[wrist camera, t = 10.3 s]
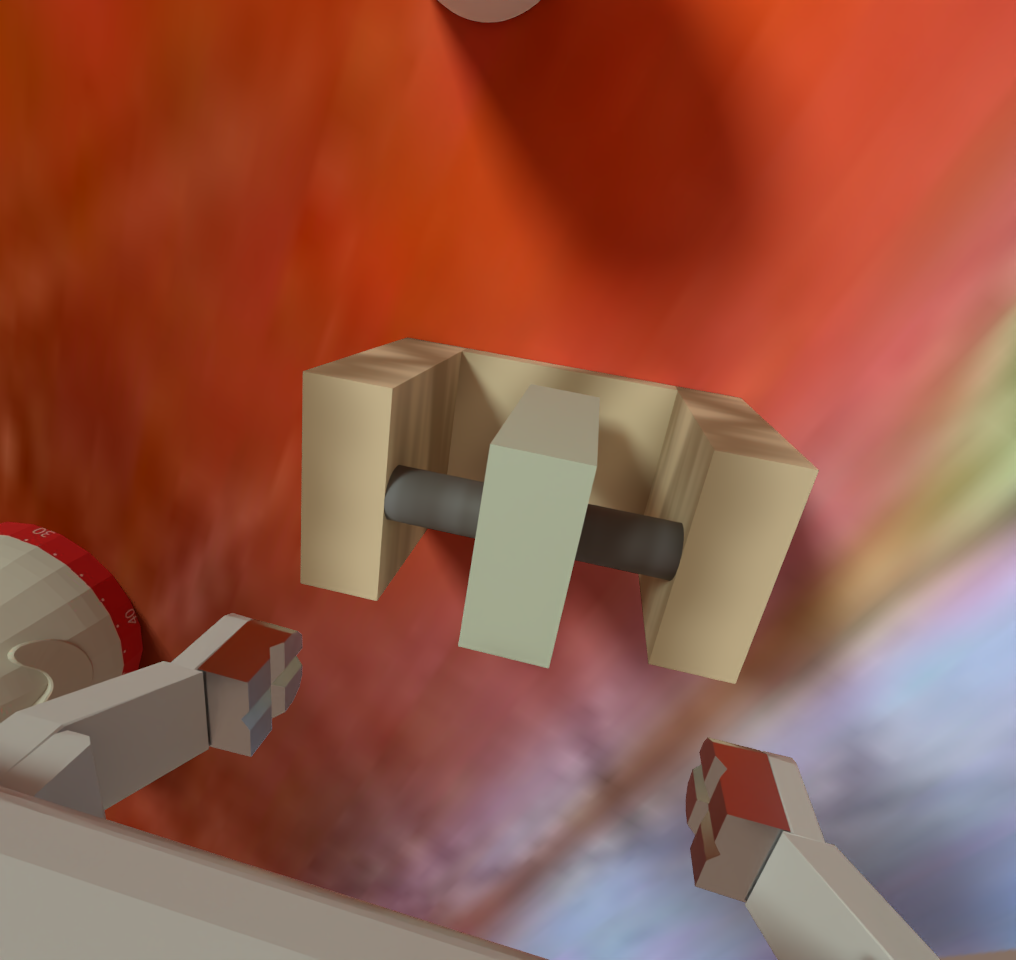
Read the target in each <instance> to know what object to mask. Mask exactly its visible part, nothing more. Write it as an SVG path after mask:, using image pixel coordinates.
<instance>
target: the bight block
mask: <svg viewBox="0 0 1016 960" xmlns="http://www.w3.org/2000/svg"><path fill="white" fill-rule="evenodd" d="M599 409H600V397H595V396H589V395H584V394H579V393H574V392H569V391H564V390H559V389H554V388H549V387H544V386H539V385H534V384H530V386H529V387H528V389H527V390H526V392H525V393H524V395H523V396H522V398H521V399H520V401H519V402H518V404H517V405H516V407H515V408H514V410H513V411H512V412H511V414H510V415H509V417H508V418H507V420H506V421H505V423H504V424H503V426H502V427H501V429H500V430H499V432H498V433H497V435H496V436H495V438H494V439H493V441H492V442H491V444H490V448H489V455H488V461H487V467H486V474H485V480H484V486H483V493H482V499H481V505H480V512H479V518H478V524H477V531H476V537H475V543H474V550H473V556H472V562H471V569H470V575H469V581H468V588H467V594H466V600H465V607H464V613H463V619H462V626H461V632H460V638H459V644H458V646H460V647H464V648H468V649H472V650H476V651H480V652H484V653H488V654H492V655H496V656H500V657H504V658H509V659H513V660H517V661H521V662H525V663H529V664H533V665H537V666H541V667H545V668H549V665H550V661H551V657H552V653H553V648H554V644H555V640H556V636H557V632H558V628H559V623H560V619H561V615H562V611H563V607H564V602H565V598H566V594H567V590H568V586H569V582H570V577H571V573H572V569H573V565H574V561H575V556H576V552H577V548H578V544H579V540H580V536H581V531H582V527H583V523H584V519H585V515H586V510H587V506H588V502H589V498H590V494H591V490H592V485H593V481H594V477H595V473H596V469H597V456H598V432H599Z"/></svg>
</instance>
